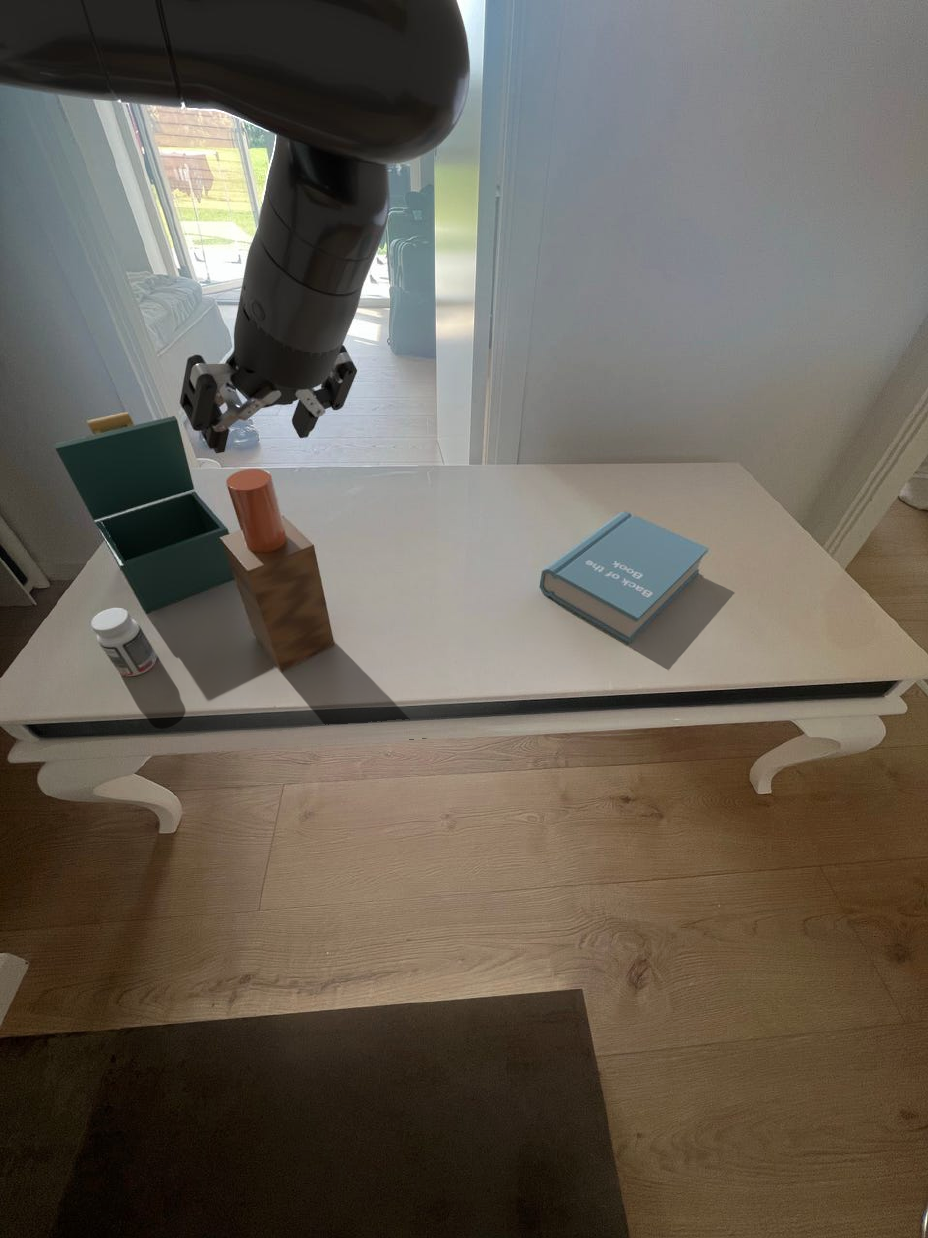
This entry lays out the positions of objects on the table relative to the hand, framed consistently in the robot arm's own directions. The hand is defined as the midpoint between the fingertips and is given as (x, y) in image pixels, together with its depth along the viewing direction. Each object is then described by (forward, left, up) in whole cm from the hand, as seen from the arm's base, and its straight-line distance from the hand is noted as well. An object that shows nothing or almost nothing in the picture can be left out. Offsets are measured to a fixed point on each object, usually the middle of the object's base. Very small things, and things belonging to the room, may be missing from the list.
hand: (258, 437), depth 51 cm
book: (+46, -17, -30) cm, 58 cm away
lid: (-8, +31, -14) cm, 35 cm away
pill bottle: (-19, +12, -30) cm, 38 cm away
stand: (-1, +3, -30) cm, 30 cm away
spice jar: (-1, +3, -13) cm, 14 cm away
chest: (-8, +28, -30) cm, 42 cm away
